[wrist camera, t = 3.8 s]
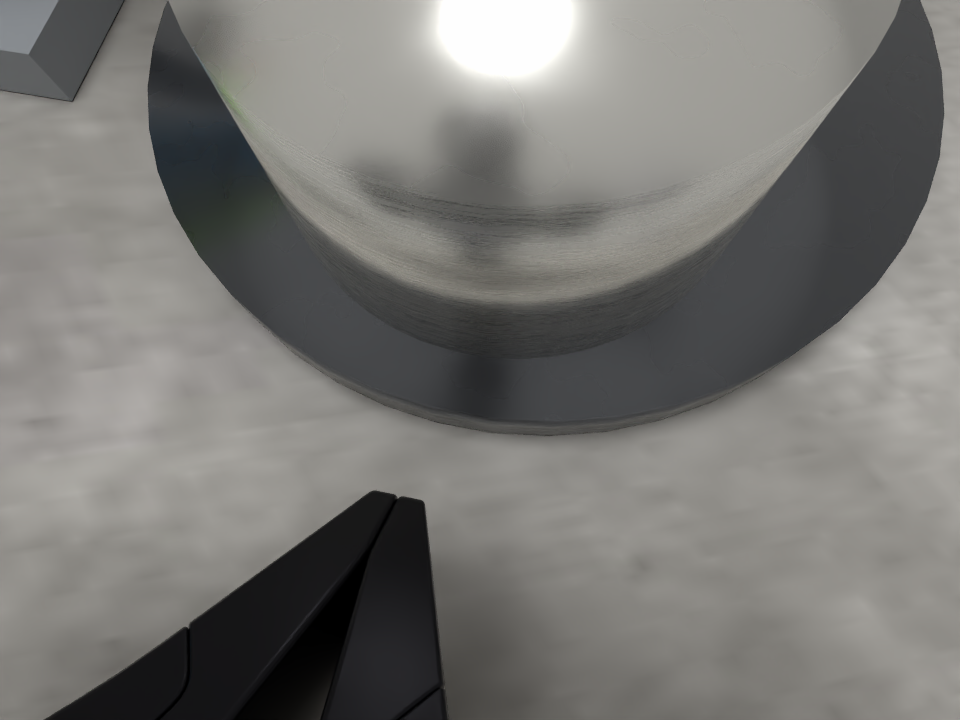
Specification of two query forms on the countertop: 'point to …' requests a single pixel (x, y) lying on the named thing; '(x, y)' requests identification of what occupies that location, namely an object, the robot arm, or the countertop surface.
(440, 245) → the cover
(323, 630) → the robot arm
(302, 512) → the countertop surface
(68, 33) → the gauge stand
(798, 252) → the turntable
